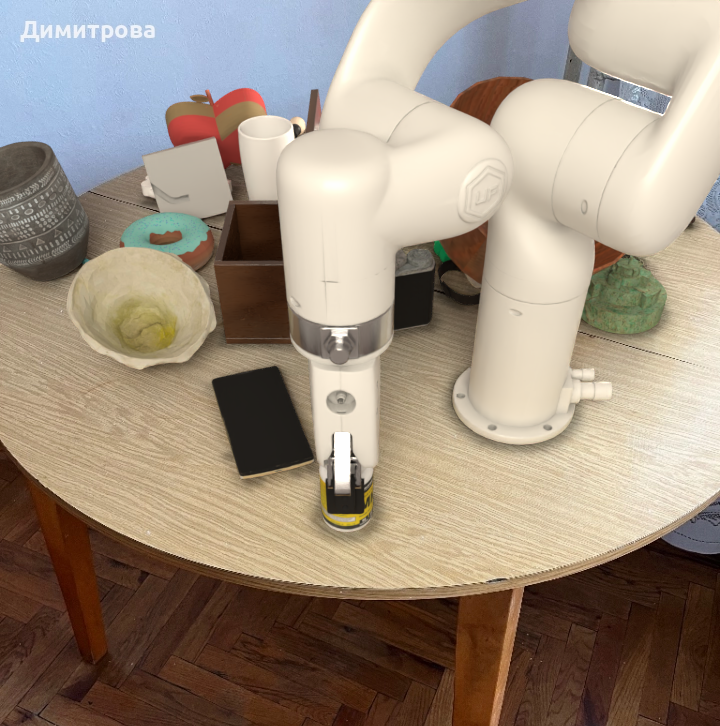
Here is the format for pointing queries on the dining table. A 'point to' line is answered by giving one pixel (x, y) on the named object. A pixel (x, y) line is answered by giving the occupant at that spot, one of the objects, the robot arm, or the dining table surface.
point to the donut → (172, 236)
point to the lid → (313, 112)
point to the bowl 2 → (472, 245)
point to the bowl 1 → (141, 307)
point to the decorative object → (214, 120)
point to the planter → (39, 214)
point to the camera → (413, 288)
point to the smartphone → (261, 422)
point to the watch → (457, 297)
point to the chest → (252, 274)
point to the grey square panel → (189, 179)
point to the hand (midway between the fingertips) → (346, 486)
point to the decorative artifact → (624, 298)
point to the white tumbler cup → (263, 153)
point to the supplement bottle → (348, 520)
